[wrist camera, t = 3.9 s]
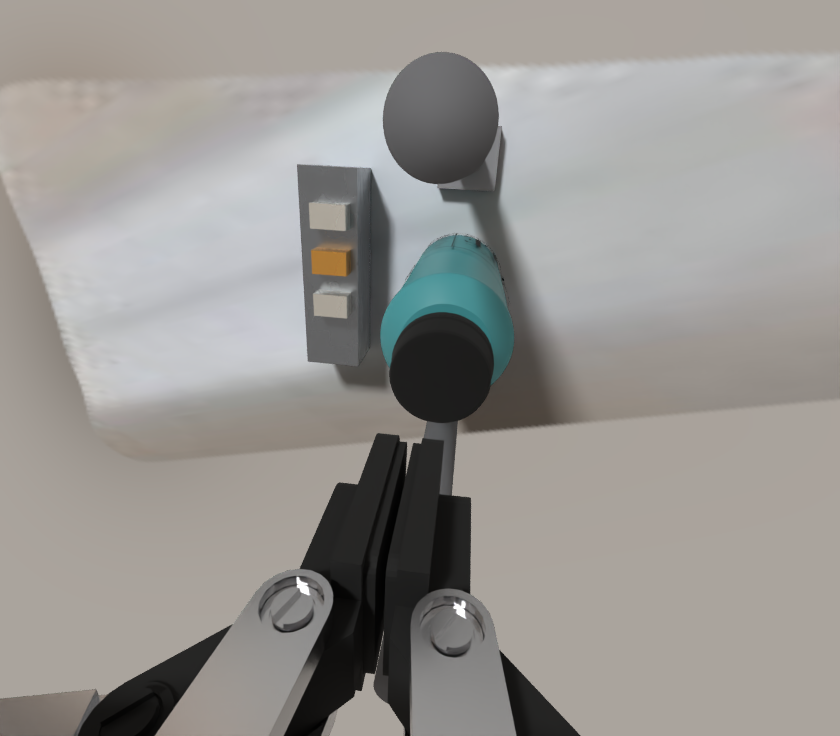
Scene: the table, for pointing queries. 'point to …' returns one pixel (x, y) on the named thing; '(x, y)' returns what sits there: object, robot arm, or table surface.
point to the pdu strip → (336, 261)
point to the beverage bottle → (448, 331)
